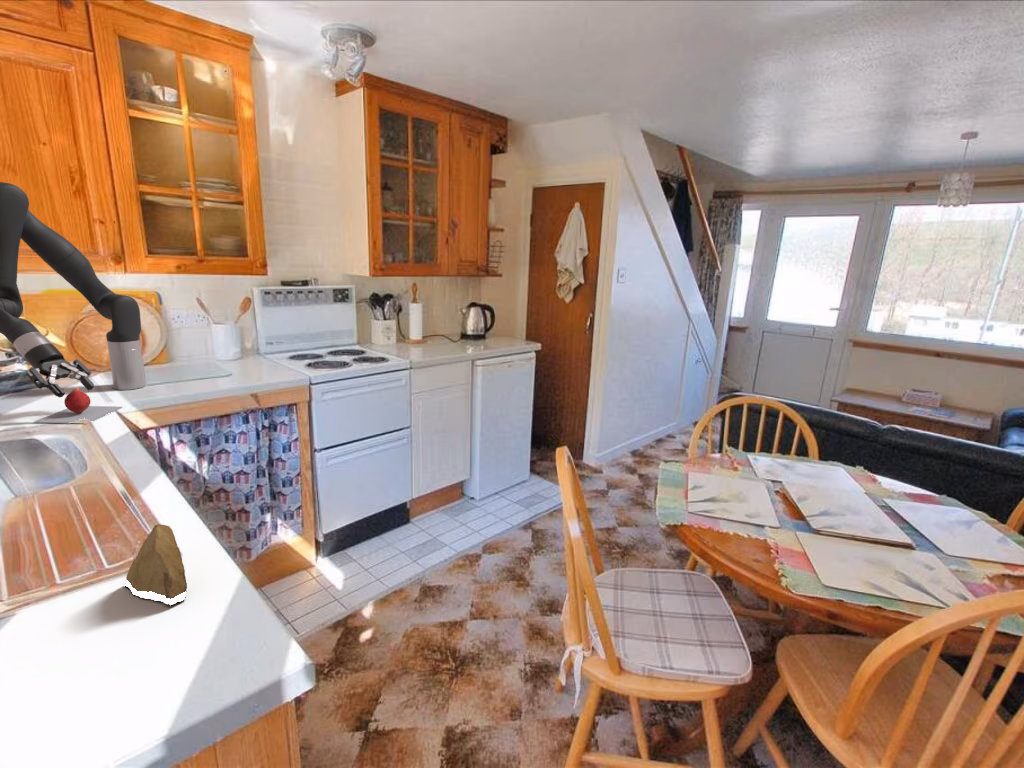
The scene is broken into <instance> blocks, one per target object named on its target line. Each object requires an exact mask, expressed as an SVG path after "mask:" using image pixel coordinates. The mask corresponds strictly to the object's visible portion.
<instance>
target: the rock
mask: <svg viewBox="0 0 1024 768" xmlns="http://www.w3.org/2000/svg"><path fill="white" fill-rule="evenodd" d="M185 572H186V570H185V565H184V562H183V557H182V554H181V550H180V547H179V546H178V543H177V540H176V537H175V534H174V530H173V529H172V528H171V526H170V525H166V524H155V525H154V526H153V528H152V530H151V531H150V532H149V533H148V535H147V536H146V538H145V540H143V543H142V545H141V547H140V549H139V550H138V552H137V556H136V558H135V559H134V560H133V561H132V564H131V565H130V567H129V570H128V571H127V574H126V580H128V581H129V582H130V583H131V585H132V587H133V588H135V589H136V590H137V591H147V592H149V591H152V592H155V593H157V594H161V595H165V596H166V598H170V599H171V598H174V597H175V596H177V595H179V594H181V593H183V592H185V591H186V592H187V590H188V589H187V588H188V583H187V579H186V574H185Z"/></svg>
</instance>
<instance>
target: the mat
mask: <svg viewBox="0 0 1024 768" xmlns="http://www.w3.org/2000/svg"><path fill="white" fill-rule="evenodd" d="M122 408H123V406H115V405H113V406H111V405H110V406H109V405H107V406H106V405H105V406H103V405H102V406H101V405H100V406H99V405H89V407H88V408H87V409H86V410H84V411H83V412H82V413H80V414H77V413H75V412H72V411H70V410H69V409H68V408H67V407H66V408H65V409H64V408H63V409H62V410H60V411H57V412H55V413H51V414H50V415H47V416H45V417H42V418H39V419H37V420H34V421H33V422H34V423H69V422H72V421H75V420H79V419H84V418H85V419H88V420H90V421H93V422H95V421H97V420H100V419H101V418H103V416H104V415H106V414H108V413H110V414H112V413H115V412H117V411H118V410H120V409H121V410H122ZM111 412H112V413H111ZM108 415H109V414H108ZM106 416H107V415H106ZM104 417H105V416H104Z"/></svg>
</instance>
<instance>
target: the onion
mask: <svg viewBox="0 0 1024 768" xmlns="http://www.w3.org/2000/svg"><path fill="white" fill-rule="evenodd" d="M91 402H92V401H91V398H90V396H89V395H88V394H87V393H86V392H84V391H82V390H81V389H80V388H79V387H75V388H74V389H73V390H72V391H70V392H69V393H67V395H66V397H65V398H64V402H63V403H64V405H65V408H66V409H67V408H68V409H69V410H70V411H72V412H75V413H77V414H80V413H82V412H83V411H84V410H86V409H87V408H88V407H89V406H91Z"/></svg>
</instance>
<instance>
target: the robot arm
mask: <svg viewBox="0 0 1024 768" xmlns="http://www.w3.org/2000/svg"><path fill="white" fill-rule="evenodd" d="M29 207H30V201H29V198H28V195H27V194H26V192H25V191H24V190H23V189H22V188H20V187H19V186H17V185H15V184H13V183H10V182H9V183H8V182H3V181H0V334H1V335H3V336H5V338H6V339H7V340H8V341H9V342H10V344H11V345H13V346H14V348H15V350H16V351H17V352H18V353H19V354H20V355H21V357H23V358H24V359H25V361H26V362H27V363H28V364H30V366H31V367H30V368H29V369H28V370H27V372H26V374H25V375H26V376H27V377H28V379H29V380H30V381H32V383H33V384H34V385H35V387H36V388H38V389H43V388H46V389H48V390H49V391H50V392H51V393H52V394H53V395H54V396H55V397H58V398H63V397H64V396H65V394H66V391H65V390H64V389H62V387H61V386H59V384H58V383H56V380H60V379H65V378H69V379H71V380H73V379H74V380H77V381H80V383H81V384H82V386H83V387H84V388H85V389H86V390H87V391H91V390H93V388H95V384H94V383H93V381H92V380H91V379H90V378H89V377H90V375H91V374H93V373H92V371H91V370H90V369H89V368H88V367H87V366H86V365H85V364H84V363H83V362H82V361H81V360H79V359H78V358H77V359H74V360H72V361H67V360H66V359H65V357H64V355H63V353H62V352H60V350H59V349H58V348H57V347H56V346H55V345H54V344H53V343H52V342H51V340H49V339H48V337H46V336H45V335H44V334H43V333H42V332H40V330H39V329H38V328H37V327H36V326H35V325H34V324H33V323H32V322H31V321H29V320H28V319H24V318H21V316H22V314H23V312H24V304H23V300H22V297H21V294H20V290H19V287H18V284H17V282H18V267H19V266H18V265H19V264H18V263H19V250H20V246H21V245H20V244H21V243H20V242H21V240H22V241H23V242H24V243H25V244H26V245H27V246H28V248H30V249H31V250H32V251H33V252H34V253H35V254H36V255H37V256H38V257H40V259H41V260H42V261H43V262H44V263H46V264H47V265H48V267H50V268H51V269H52V270H53V271H55V273H56V274H58V275H59V276H61V278H63V279H64V280H65V281H66V282H67V283H68V284H69V285H70V286H72V288H74V289H75V290H77V291H78V292H79V293H80V294H81V295H82V296H83V297H84V298H85V299H86V300H87V302H88V303H89V304H90V305H91V307H93V308H94V310H96V311H97V313H98V314H99V315H101V316H102V317H103V318H105V319H107V320H110V321H111V330H109V331H107V332H106V334H105V335H106V336H105V337H106V343H107V349H108V356H109V363H110V370H111V376H112V384H113V388H114V389H115V390H120V391H121V390H122V391H123V390H124V391H127V390H128V391H129V390H136V389H141V388H144V387H146V385H147V379H146V371H145V364H144V359H143V355H142V348H141V341H140V340H141V339H140V335H141V332H142V322H141V309H140V306H139V304H138V301H137V300H136V299H135V298H133V297H132V296H130V295H125V294H118V293H115V292H113V291H112V290H111V289H110V288H108V286H106V285H105V284H104V283H103V282H102V281H101V280H100V279H99V278H98V276H97V274H96V272H95V270H94V268H93V266H92V264H91V262H90V261H89V259H88V258H87V257H86V256H85V255H84V254H83V253H82V252H81V251H80V250H79V249H78V248H77V247H76V246H75V245H74V244H73V243H71V241H69V240H68V239H67V238H66V237H64V236H63V235H62V234H60V233H58V232H57V231H55V230H54V229H53V228H51V227H49V226H48V225H46V224H45V223H43V221H41V220H40V219H39V218H37V217H36V216H35V215H34V214H33V213H32V212H31V211H30V210H29ZM44 377H45V378H44Z"/></svg>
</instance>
